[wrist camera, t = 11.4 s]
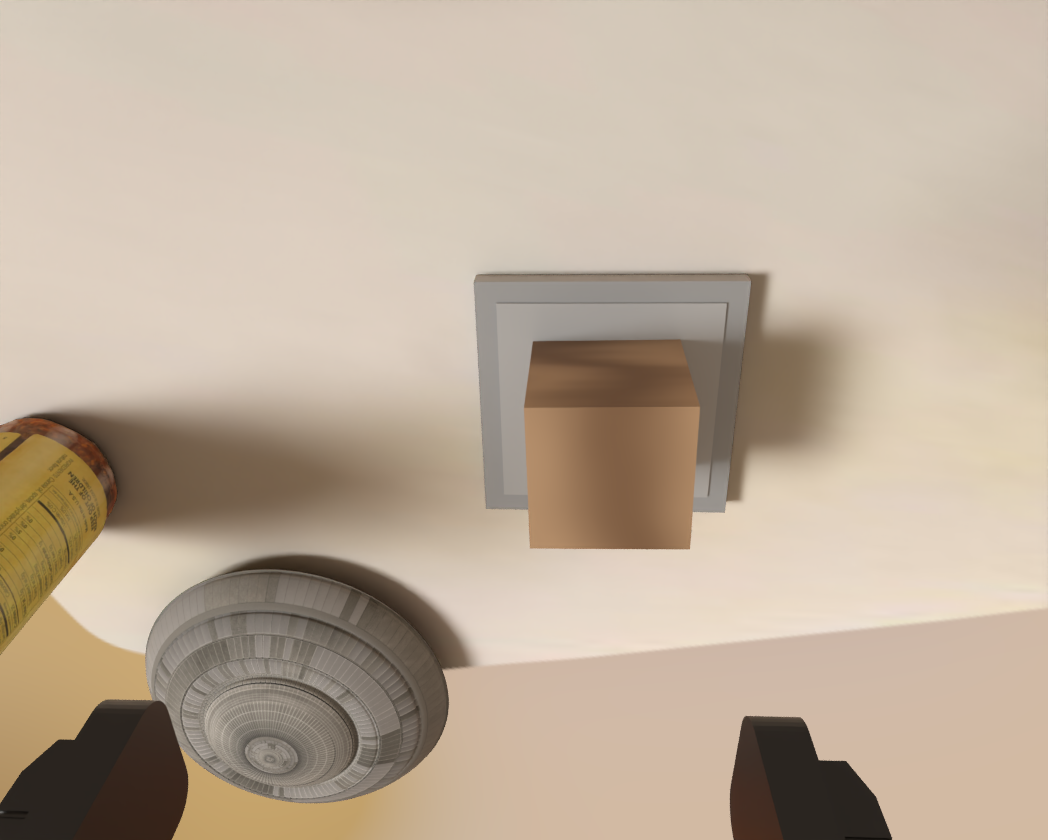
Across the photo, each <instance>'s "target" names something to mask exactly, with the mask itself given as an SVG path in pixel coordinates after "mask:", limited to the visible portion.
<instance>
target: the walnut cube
mask: <svg viewBox="0 0 1048 840" xmlns="http://www.w3.org/2000/svg"><path fill="white" fill-rule="evenodd" d="M699 415H700V405H699V401H698V398H697V394H696V391H695V388H694V384H693V381H692V377H691V374H690V370H689V367H688V364H687V360H686V357H685V353H684V350H683V346H682V343H681V340H680V339H674V340H597V341H533V344H532V351H531V359H530V366H529V374H528V381H527V389H526V396H525V404H524V421H525V444H526V467H527V489H528V512H529V535H530V548H561V549H690V540H691V526H692V512H693V498H694V484H695V471H696V457H697V443H698V429H699Z"/></svg>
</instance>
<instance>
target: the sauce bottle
mask: <svg viewBox="0 0 1048 840" xmlns="http://www.w3.org/2000/svg"><path fill="white" fill-rule="evenodd" d="M116 497H117V488H116V482H115V478H114V475H113V471H112V470H111V468H110V466H109V465H108V461H107V458H105V457H104V455H103V454H102V453H101V451H100V450H99V448H98V447H97V446H96V444H95V443H94V442H92V441H90V440H88V439H87V438H85V437H84V436H82V435H80V434H79V433H77V432H75V431H73V430H71V429H69V428H66V427H64V426H62V425H60V424H57V423H55V422H53V421H50V420H46V419H42V418H23V419H16V420H13V421H11V422H8V423H6V424H3V425H0V655H1V654H2V652H3V651H4V650H5V649H6V647H7V646H8V645H9V644H10V643H11V641H12V640H13V639H14V638H15V636H16V635H17V634H18V633H19V631H20V630H21V629H22V628H23V627H24V625H25V624H26V623H27V622H28V620H29V619H30V618H31V617H32V616H33V614H34V613H35V612H36V611H37V609H38V608H39V607H40V606H41V605H42V603H43V602H44V601H45V600H46V599H47V598H48V596H49V595H50V594H51V593H52V591H53V590H54V589H55V588H56V587H57V585H58V584H59V583H60V582H61V581H62V579H63V578H64V577H65V576H66V575H67V573H68V572H69V571H70V570H71V569H72V567H73V566H74V565H75V564H76V563H77V561H78V560H79V559H80V558H81V556H82V555H83V554H84V553H85V552H86V550H87V549H88V548H89V547H90V546H91V544H92V543H93V542H94V541H95V539H96V538H97V537H98V536H99V534H100V533H101V531H102V529H103V527H104V524H105V521H106V518H107V517H108V516H109V514H110V513H111V511H112V509H113V506H114V504H115V501H116Z"/></svg>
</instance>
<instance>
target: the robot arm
mask: <svg viewBox="0 0 1048 840" xmlns="http://www.w3.org/2000/svg"><path fill="white" fill-rule="evenodd" d="M187 792H188V774H187V769H186V766H185V762H184V759H183V756H182V753H181V750H180V747H179V743H178V740H177V737H176V734H175V731H174V728H173V724H172V721H171V718H170V715H169V712H168V709H167V707H166V705H165V704H164V703H163V702H162V701H153V700H152V701H150V700H105V701H103V702H101V703H100V704H99V705H98V706H97V707H96V708H95V709H94V711H93V712H92V713H91V715H90V716H89V718H88V720H87V721H86V723H85V724H84V726H83V728H82V729H81V731H80V732H79V734H78V735H77V737H76V739H75V740H58V741H56V742H55V743H54V744H53V745H52V746H51V747H50V748H48V750H46V751H45V752H44V753H43V754H42V755H40V756H39V757H38V758H37V759H36V760H35V761H34V762H33V763H31V764H30V765H29V766H28V767H27V768H26V769H25V770H23V771H22V772H21V774H20V775H19V777H18V778H17V780H16V781H15V783H14V784H13V786H12V788H11V789H10V790H9V791H8V793H7V794H6V796H5V797H4V799H3V800H2V802H1V803H0V840H172V838H173V836H174V833H175V831H176V829H177V827H178V824H179V822H180V819H181V817H182V814H183V811H184V808H185V804H186V799H187ZM730 814H731V825H732V832H733V838H734V840H892V837H891V834H890V832H889V829H888V827H887V824H886V822H885V819H884V816H883V814H882V811H881V809H880V806H879V804H878V801H877V798H876V796H875V795H874V794H873V793H872V792H871V790H870V789H869V788H868V787H867V786H866V784H865V783H864V782H863V781H862V780H861V778H860V777H859V776H858V775H857V774H856V772H855V771H854V770H853V769H852V768H851V767H850V765H849V764H848V763H847V762H846V761H820V760H818V757H817V754H816V751H815V748H814V745H813V742H812V739H811V736H810V733H809V731H808V728H807V726H806V724H805V722H804V721H803V719H802V718H800V717H763V716H762V717H761V716H746V717H744V719H743V721H742V726H741V731H740V737H739V743H738V748H737V754H736V760H735V765H734V771H733V776H732V783H731V789H730Z"/></svg>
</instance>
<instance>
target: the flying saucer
mask: <svg viewBox="0 0 1048 840" xmlns="http://www.w3.org/2000/svg"><path fill="white" fill-rule="evenodd" d="M146 675H147V681H148V686H149V690H150V693H151V696H152V700H153V701H162V702H163V703H164V704H165V705H166V707H167V709H168V712H169V715H170V718H171V721H172V724H173V728H174V731H175V734H176V737H177V740H178V743H179V746H180V747H181V748H182V749H183V750H184V751H185V752H186V753H187V754H188V755H189V756H190V757H191V758H192V759H193V760H194V761H195V762H197V763H198V764H199V765H200V766H202V767H203V768H204V769H206V770H207V771H209V772H210V773H212V774H213V775H215V776H217V777H219V778H220V779H222V780H224V781H226V782H227V783H229V784H231V785H234V786H236V787H238V788H240V789H243V790H245V791H248V792H251V793H254V794H257V795H260V796H264V797H268V798H272V799H277V800H282V801H288V802H298V803H328V802H336V801H342V800H348V799H352V798H355V797H358V796H362V795H365V794H368V793H371V792H374V791H376V790H378V789H381V788H383V787H385V786H387V785H389V784H391V783H392V782H394V781H396V780H397V779H399V778H401V777H402V776H404V775H405V774H407V773H408V772H410V771H411V770H412V769H413V768H415V767H416V766H417V765H418V764H419V763H420V762H421V761H422V760H423V759H424V758H425V757H426V756H427V755H428V754H429V753H430V752H431V751H432V749H433V748H434V746H435V745H436V743H437V742H438V740H439V739H440V736H441V735H442V732H443V730H444V727H445V724H446V721H447V715H448V707H449V698H448V690H447V685H446V680H445V677H444V674H443V671H442V669H441V666H440V664H439V662H438V660H437V658H436V656H435V654H434V653H433V651H432V650H431V648H430V647H429V645H428V644H427V643H426V641H425V640H424V639H423V638H422V636H421V635H420V634H419V633H418V632H417V631H416V630H415V629H414V628H413V627H412V626H411V625H410V624H409V623H408V622H407V621H406V620H405V619H404V618H403V617H401V616H400V615H399V614H398V613H396V612H395V611H394V610H392V609H391V608H390V607H388V606H387V605H385V604H384V603H382V602H381V601H379V600H377V599H376V598H374V597H372V596H370V595H368V594H366V593H364V592H363V591H360V590H358V589H356V588H354V587H352V586H349V585H346V584H344V583H341V582H338V581H335V580H332V579H329V578H326V577H322V576H318V575H314V574H309V573H304V572H298V571H290V570H278V569H259V570H246V571H239V572H233V573H228V574H224V575H220V576H217V577H214V578H211V579H208V580H205V581H203V582H201V583H199V584H197V585H195V586H193V587H191V588H189V589H187V590H186V591H184V592H183V593H181V594H180V595H179V596H177V597H176V598H175V599H174V600H173V601H171V602H170V603H169V604H168V605H167V606H166V607H165V609H164V610H163V611H162V612H161V614H160V615H159V616H158V618H157V619H156V621H155V623H154V625H153V627H152V629H151V632H150V635H149V638H148V642H147V646H146Z"/></svg>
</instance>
